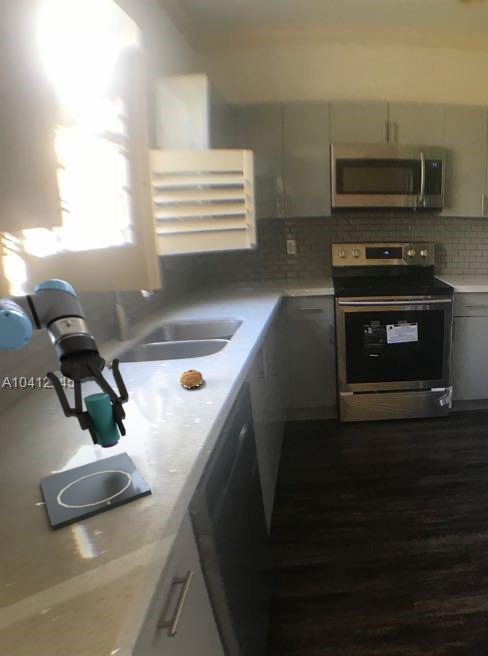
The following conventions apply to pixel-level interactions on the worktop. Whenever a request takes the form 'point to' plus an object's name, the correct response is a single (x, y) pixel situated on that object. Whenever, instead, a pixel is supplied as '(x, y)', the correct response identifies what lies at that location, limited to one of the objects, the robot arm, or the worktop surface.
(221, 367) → the worktop surface
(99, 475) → the slate board
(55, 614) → the worktop surface
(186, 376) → the pastry
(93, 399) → the dot marker
